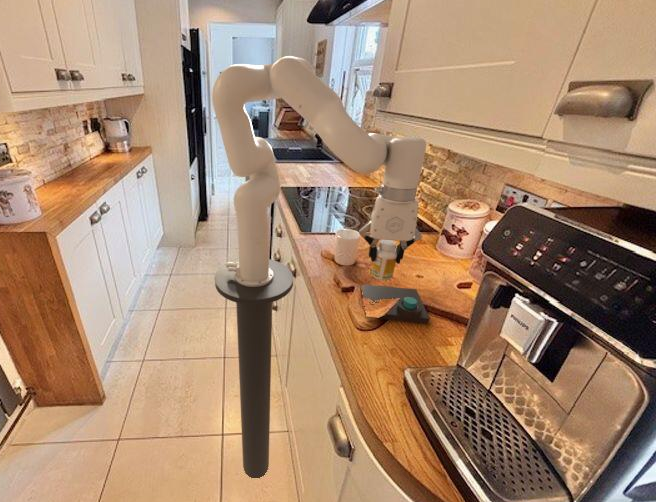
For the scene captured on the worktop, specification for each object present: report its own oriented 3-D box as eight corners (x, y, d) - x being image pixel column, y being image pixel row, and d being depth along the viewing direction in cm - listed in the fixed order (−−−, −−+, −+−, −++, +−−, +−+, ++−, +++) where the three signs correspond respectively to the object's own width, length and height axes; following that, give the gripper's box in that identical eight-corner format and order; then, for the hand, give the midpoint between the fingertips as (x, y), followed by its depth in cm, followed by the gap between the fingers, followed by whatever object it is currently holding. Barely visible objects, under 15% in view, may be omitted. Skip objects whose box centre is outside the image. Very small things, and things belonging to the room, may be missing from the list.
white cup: (347, 253, 114) (351, 227, 109) (361, 264, 107) (366, 236, 103) (328, 257, 111) (330, 231, 107) (341, 268, 105) (345, 240, 100)
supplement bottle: (393, 272, 88) (400, 240, 83) (391, 282, 84) (398, 249, 79) (372, 268, 90) (378, 236, 86) (369, 277, 86) (375, 245, 81)
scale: (365, 318, 83) (367, 307, 81) (360, 289, 94) (362, 279, 93) (428, 325, 80) (432, 314, 79) (414, 294, 92) (417, 283, 90)
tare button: (404, 309, 81) (405, 303, 80) (401, 301, 84) (403, 296, 83) (417, 310, 81) (418, 304, 80) (414, 303, 83) (415, 297, 82)
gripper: (362, 195, 74) (351, 264, 83) (442, 199, 72) (423, 270, 80) (358, 186, 81) (349, 251, 89) (432, 189, 78) (415, 255, 87)
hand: (384, 259), depth 85 cm, fingers closed on supplement bottle, 5 cm apart
